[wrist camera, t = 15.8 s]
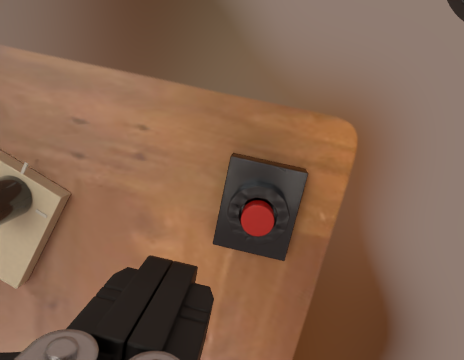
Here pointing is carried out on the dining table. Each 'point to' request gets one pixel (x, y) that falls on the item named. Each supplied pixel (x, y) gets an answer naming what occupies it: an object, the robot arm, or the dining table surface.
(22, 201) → the hob knob
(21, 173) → the hob panel
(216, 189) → the dining table surface
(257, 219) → the button
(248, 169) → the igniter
